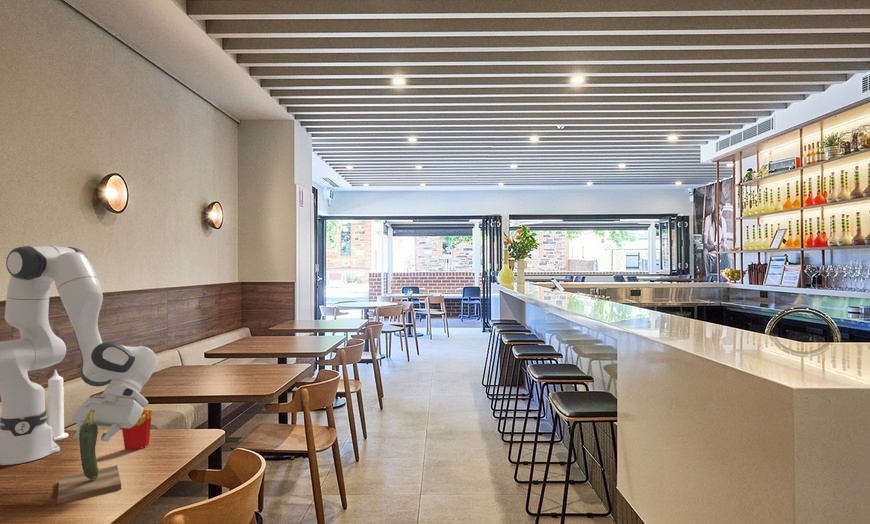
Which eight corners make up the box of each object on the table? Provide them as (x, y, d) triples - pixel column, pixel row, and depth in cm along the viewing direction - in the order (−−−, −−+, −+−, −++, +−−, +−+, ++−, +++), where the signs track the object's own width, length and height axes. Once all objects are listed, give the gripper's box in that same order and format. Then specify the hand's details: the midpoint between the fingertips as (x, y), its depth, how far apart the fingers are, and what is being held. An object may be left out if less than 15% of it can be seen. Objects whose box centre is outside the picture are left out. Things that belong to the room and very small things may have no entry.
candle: (55, 441, 180) (54, 372, 180) (39, 440, 181) (38, 371, 182) (73, 435, 187) (72, 368, 187) (57, 434, 188) (56, 367, 189)
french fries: (123, 452, 167) (122, 413, 167) (120, 449, 170) (120, 411, 170) (154, 445, 173) (153, 408, 173) (151, 442, 176) (150, 405, 176)
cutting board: (59, 482, 144) (59, 477, 144) (117, 470, 152) (117, 465, 152) (57, 504, 130) (57, 498, 130) (121, 489, 138) (121, 483, 138)
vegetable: (84, 485, 138) (82, 412, 138) (77, 481, 140) (75, 410, 140) (102, 479, 142) (100, 408, 142) (94, 475, 144) (93, 406, 144)
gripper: (85, 389, 152) (54, 431, 142) (140, 391, 147) (112, 436, 137) (98, 400, 156) (69, 442, 146) (153, 402, 151) (126, 446, 141)
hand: (90, 439), depth 142 cm, fingers open, 8 cm apart
